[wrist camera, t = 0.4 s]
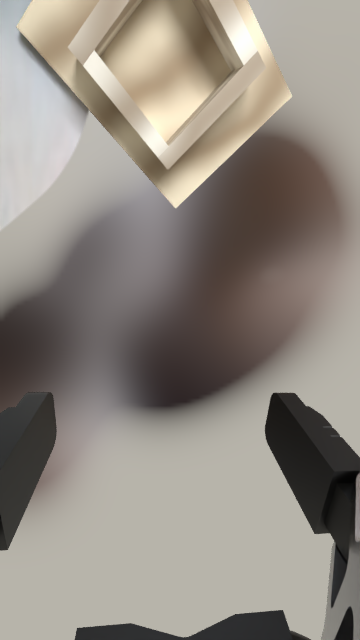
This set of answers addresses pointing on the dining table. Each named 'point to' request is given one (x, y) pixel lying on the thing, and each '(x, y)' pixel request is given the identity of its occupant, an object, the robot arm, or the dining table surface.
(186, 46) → the wooden box tray
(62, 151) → the dining table surface
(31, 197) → the dining table surface
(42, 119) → the dining table surface
